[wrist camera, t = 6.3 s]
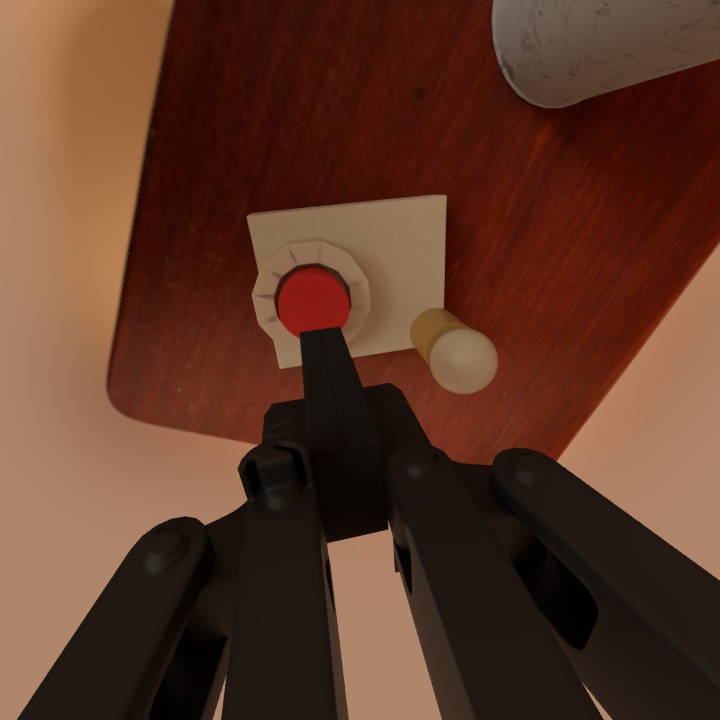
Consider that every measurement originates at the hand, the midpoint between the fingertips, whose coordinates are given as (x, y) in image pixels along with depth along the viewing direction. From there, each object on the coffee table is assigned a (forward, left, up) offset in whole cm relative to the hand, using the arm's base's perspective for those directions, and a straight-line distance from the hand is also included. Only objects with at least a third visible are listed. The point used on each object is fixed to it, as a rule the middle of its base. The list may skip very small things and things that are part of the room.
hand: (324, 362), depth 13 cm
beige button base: (0, +3, -13) cm, 13 cm away
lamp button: (0, 0, -9) cm, 9 cm away
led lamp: (+3, +8, -9) cm, 12 cm away
